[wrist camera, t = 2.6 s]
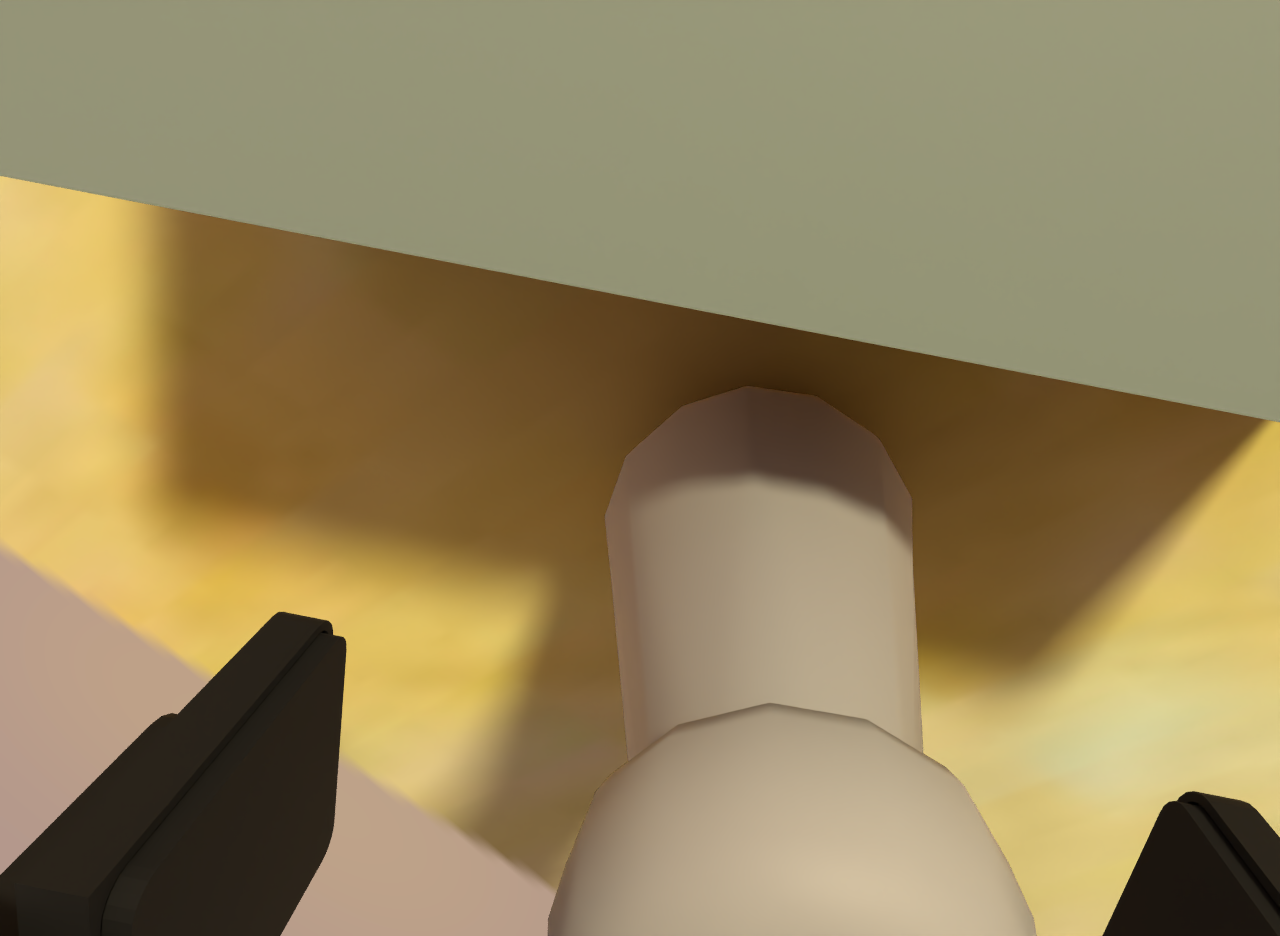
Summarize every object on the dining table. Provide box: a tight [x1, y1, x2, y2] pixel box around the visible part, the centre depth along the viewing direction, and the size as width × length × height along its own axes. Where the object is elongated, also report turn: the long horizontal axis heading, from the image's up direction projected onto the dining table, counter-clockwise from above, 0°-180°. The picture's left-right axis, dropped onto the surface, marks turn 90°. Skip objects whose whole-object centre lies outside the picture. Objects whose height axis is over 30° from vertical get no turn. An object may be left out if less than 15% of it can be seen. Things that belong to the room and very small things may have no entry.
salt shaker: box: [548, 386, 1037, 936], centre depth 13 cm, size 6×6×13 cm
